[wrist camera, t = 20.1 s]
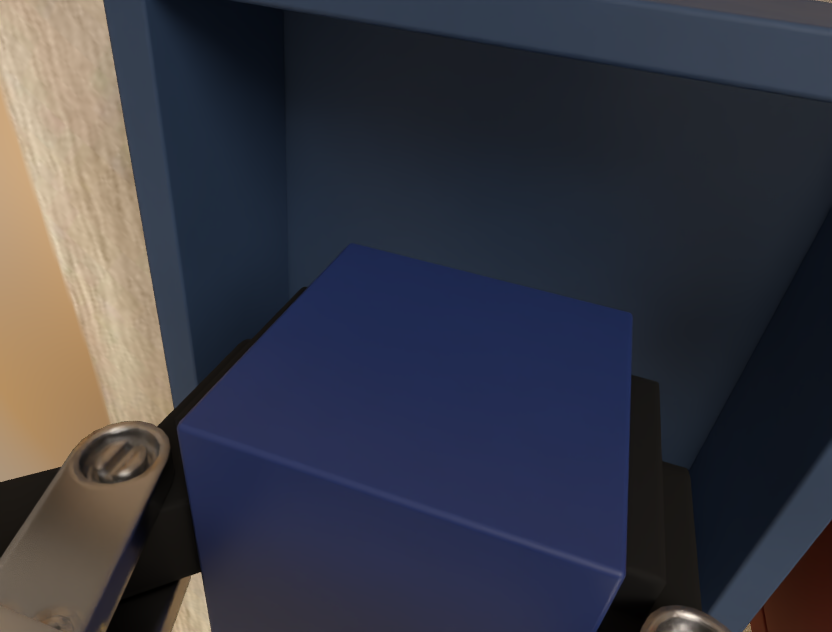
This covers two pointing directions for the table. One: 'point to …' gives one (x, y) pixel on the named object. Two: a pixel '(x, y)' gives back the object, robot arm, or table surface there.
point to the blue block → (416, 458)
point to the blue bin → (524, 202)
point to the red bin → (802, 594)
